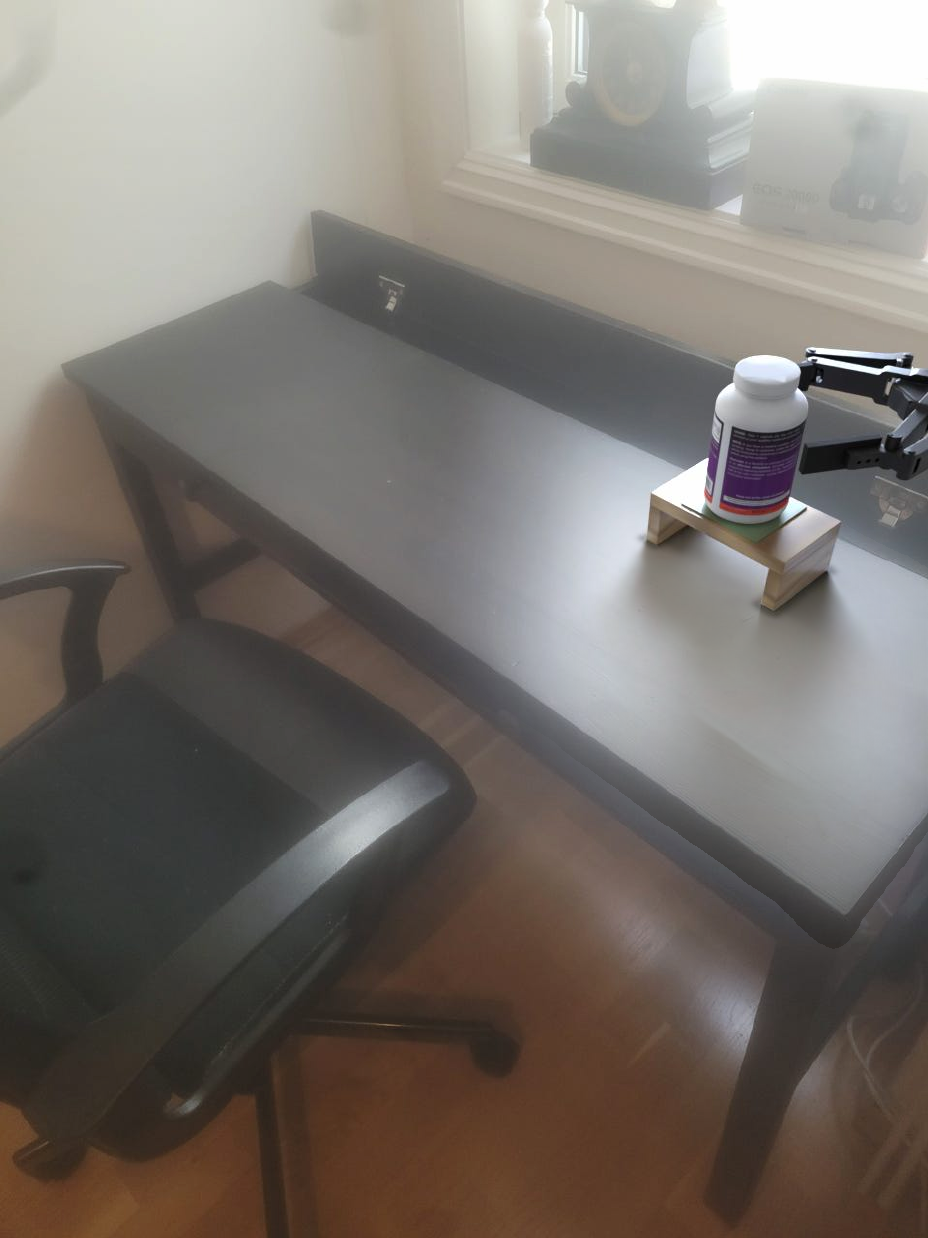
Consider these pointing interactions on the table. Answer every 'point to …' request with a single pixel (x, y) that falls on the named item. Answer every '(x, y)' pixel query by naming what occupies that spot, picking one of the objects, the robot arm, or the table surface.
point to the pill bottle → (756, 441)
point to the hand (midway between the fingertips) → (771, 419)
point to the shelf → (750, 534)
